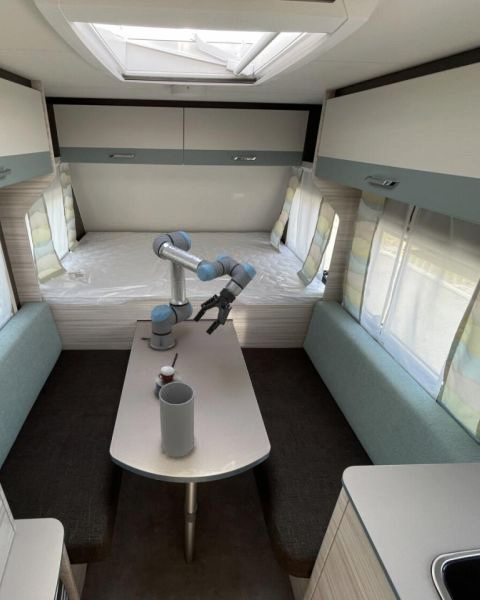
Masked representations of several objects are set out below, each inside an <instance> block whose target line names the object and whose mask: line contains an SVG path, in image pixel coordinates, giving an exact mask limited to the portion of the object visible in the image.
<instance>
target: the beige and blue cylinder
mask: <svg viewBox="0 0 480 600" xmlns="http://www.w3.org/2000/svg"><path fill="white" fill-rule="evenodd" d="M159 374H161V371H160V372H158V373H157V374H156V376H155V377H154V381H155V393H156V396H157V398H159V392H160V390H161V388H162V387H163V386H165V385H166V384H169V383H172V382H182V381H183V376H182V374H181V373H180V372H178V371H176V370H175V372H174V377H173V378H172V379H171V380H169V381H166V380H164V379H160V378H159V377H161V375H160V376H159ZM158 376H159V377H158ZM161 378H162V377H161Z"/></svg>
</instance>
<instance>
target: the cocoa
mask: <svg viewBox="0 0 480 600" xmlns="http://www.w3.org/2000/svg"><path fill="white" fill-rule="evenodd" d="M178 357H179V353H178V352H176V353H175V356H174V358H173V361H172V364H171V365H165V366H162V367H160V372H161V374H159V376H160V375H161V377H162V378H161V377H159V376H158V377H159V378H160V379H164V380H166V381H169V380H171V379H172V378H173V377H174V372H175V371H176V369H175V368H174V367H175V366H176V363H177V359H178Z"/></svg>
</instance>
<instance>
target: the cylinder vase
mask: <svg viewBox="0 0 480 600" xmlns="http://www.w3.org/2000/svg"><path fill="white" fill-rule="evenodd" d="M158 400H159V419H160V421H159V422H160V439H161V442H160V443H161V448H162V450H163V451H164V453H165V454H166V455H169V456H171V457H174V458H180V457H184V456H186V455H188V454H190V452H192V450H193V449H194V445H195V390H194V389H193V387H192V386H191V385H190V384H188V383H186V382H182V381H181V382H172V383H169V384H166V385H165V386H163V387H162V388H161V390H160V392H159V397H158Z"/></svg>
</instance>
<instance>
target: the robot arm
mask: <svg viewBox="0 0 480 600" xmlns="http://www.w3.org/2000/svg"><path fill="white" fill-rule="evenodd" d="M191 247H192V240H191V238H190V236H189V234H188V233H186V232H185V231H181V230H180V231H173V232H167V233H162V234H160V235H158V236H156V237H155V238H154V240H153V242H152V250H153V253H154V254H155V256H156V257H158V258H159V259H162V260H164V261H169V275H170V294H171V298H170V299H169V300H168V304H159V305H155V306H154V307H153V308H152V310H151V311H150V313H151V314H150V319H151V335H150V337H141V340H149V346H150V348H151V349H153V350H155V351H156V350H157V351H166V350H170V349H172V348H173V347H174V346H176V345H175V344H176V337H175V336H174V333H173V326H175V325H177V324H179V323H181V322H186V321H187V320H188V319H190V318H191V317H192V316H193V313H194V309H193V308H194V307H193V305H192V302H191V301H190V300H189V298H187V291H186V290H187V289H186V287H187V286H186V269H187V270H188V271H191V272H192V273H195V274H196V275H197V278H198V279H199V280H200V281H201V282H210V281H213V280H215V279H219V278H220V277H221V278H222V277H223V276H226V275H227V276H228V277H230V280H229V281H228V282H227V283H226V284H225V286H224V287H223V288H222V289H221V290H220V292H219V295H217V294H216V293H214V295H213V296H211V297H210V298H208V299H207V300H206V301H204V302H203V303H201V304H200V310H199V311H198V312H197V314H196V315H195V316H194V317H193V318H192V320H193V321H195V323H198V322H199V321H200V320H201V319H202V318H203V317H204V315H205V314H206V313H207V311H209V310H211V309H214V308H218V312H217V317H216V320H214V321H213V322H212V323H211V325H209V327H208V328H207V329H206V330H205V333H207V334H208V335H209V336H211V335H212V334H213V333H214V331H215V330H217V329H218V327H219V326H221V325H222V326H225V325H226V322H227V320H228V317H229V316H230V315H229V314H230V312H231V310H232V309H233V306H232V305H231V304H233V303H234V301H235V300H236V299H237V297H238V296H239V295H240V294H241V293H242V291H244V289H245V288H246V287H247V286H248V285H249V283H250V282H251V281H252V280H253V279H254V277H256V275H257V270H256V268H255V267H254V266H252V265H251V264H250V263H248V262H244V263H243V264H241V263H239V262H238V261H237V260H235V259H234V258H233V257H231V256H230V255H227V254H225V253H222V254H220V256H218V257H217V259H216V260H215V261H212V262H211V261H209V260H206V259H203V258H202V257H199V256H197V255H195V254H192V253H191V252H188V251H190V250H191Z"/></svg>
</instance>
